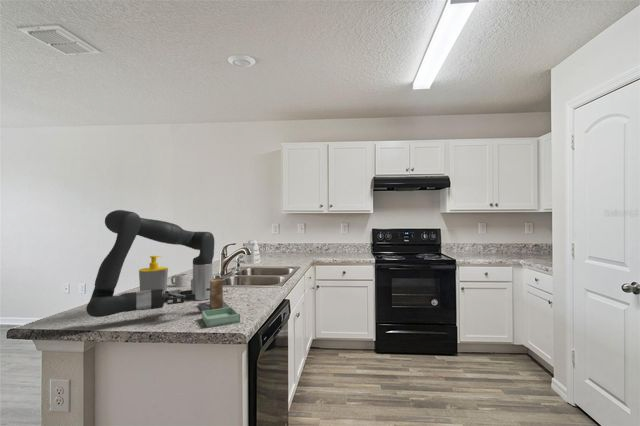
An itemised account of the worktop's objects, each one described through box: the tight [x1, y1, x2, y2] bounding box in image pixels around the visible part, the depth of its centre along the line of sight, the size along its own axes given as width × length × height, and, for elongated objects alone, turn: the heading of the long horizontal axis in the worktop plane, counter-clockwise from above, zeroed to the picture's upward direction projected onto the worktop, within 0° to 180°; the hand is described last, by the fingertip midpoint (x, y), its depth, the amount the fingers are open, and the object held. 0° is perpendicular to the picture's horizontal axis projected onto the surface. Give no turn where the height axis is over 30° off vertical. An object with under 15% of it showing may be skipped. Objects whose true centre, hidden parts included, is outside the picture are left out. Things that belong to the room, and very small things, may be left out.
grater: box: [244, 240, 262, 265], centre depth 286 cm, size 10×10×20 cm
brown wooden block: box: [209, 278, 224, 310], centre depth 138 cm, size 4×4×12 cm
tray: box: [201, 306, 241, 329], centre depth 124 cm, size 12×12×3 cm
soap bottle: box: [138, 255, 169, 294], centre depth 160 cm, size 13×13×21 cm
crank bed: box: [197, 288, 230, 312], centre depth 141 cm, size 11×16×8 cm
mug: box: [170, 273, 188, 288], centre depth 189 cm, size 10×7×7 cm
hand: (193, 294), depth 133 cm, fingers open, 8 cm apart
